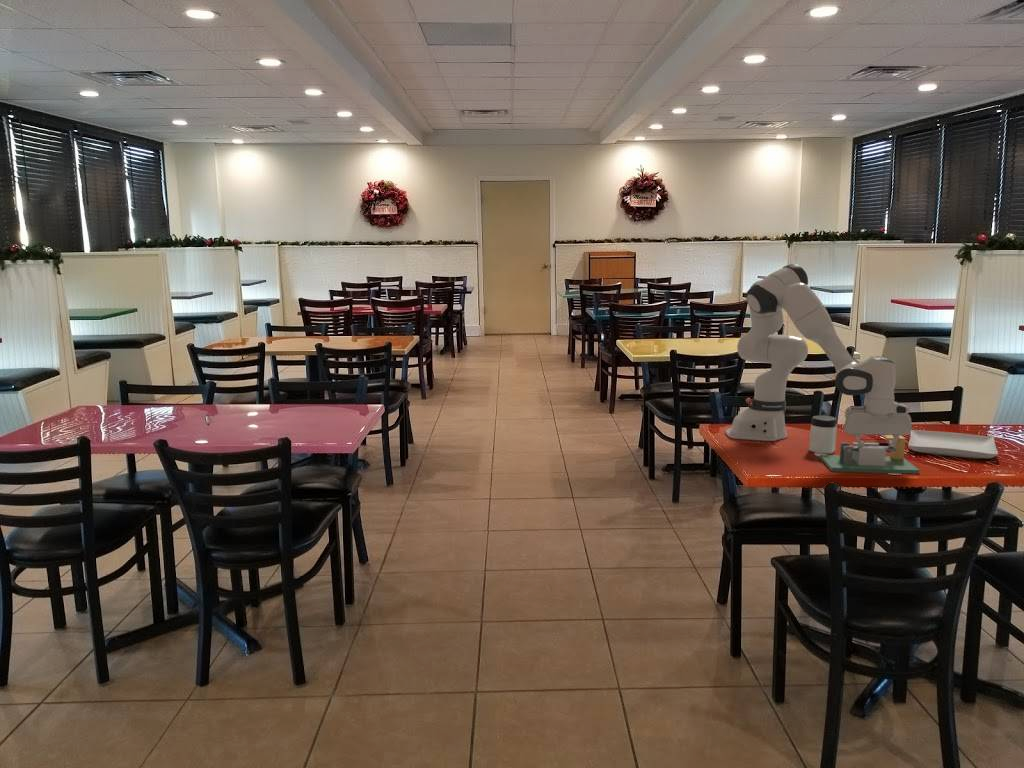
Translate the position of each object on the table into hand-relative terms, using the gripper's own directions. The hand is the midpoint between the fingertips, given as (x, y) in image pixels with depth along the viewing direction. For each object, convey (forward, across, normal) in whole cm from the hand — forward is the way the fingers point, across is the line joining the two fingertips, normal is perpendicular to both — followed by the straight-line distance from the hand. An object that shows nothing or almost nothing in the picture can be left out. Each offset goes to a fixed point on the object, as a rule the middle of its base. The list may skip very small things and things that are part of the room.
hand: (876, 447), depth 262 cm
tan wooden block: (+5, +8, +6) cm, 11 cm away
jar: (+6, -12, +18) cm, 23 cm away
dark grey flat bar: (+1, -2, 0) cm, 2 cm away
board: (+6, -2, 0) cm, 7 cm away
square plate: (+7, +34, +25) cm, 43 cm away
